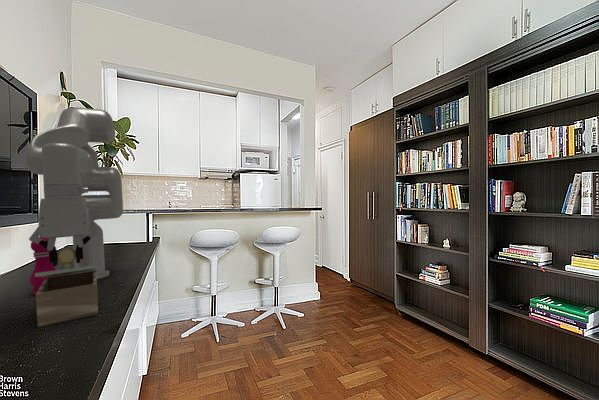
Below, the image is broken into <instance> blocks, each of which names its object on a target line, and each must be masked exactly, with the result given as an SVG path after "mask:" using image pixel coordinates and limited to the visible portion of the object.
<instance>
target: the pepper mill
mask: <svg viewBox="0 0 599 400" xmlns="http://www.w3.org/2000/svg"><path fill="white" fill-rule="evenodd" d="M39 238H41V239H43V240H46V241H47V242H48V241H49V238H42V237H40V235H39ZM30 248H31V250H32V251H33V253H32V254H33V255H32V256H33V258H34V260H35V265H34V269H33V271H32V273H31V276H30V278H29V279H30V280H29V282H30V285H31V286H32V287H34V288H33V289H32V295H33V296H35V297H36V293H37V291H38V290H39V288H40V286H41V285H42V283H43V282H44V280H45V278H47V277H35V273H41V272H48V271H55V270H57V269H56V266H53V263H50V260H49V251H48V250H47V249H46V248H44V247H43V246H41V245H40V244H37V243H35V242H32V241H30ZM56 276H60V275H56ZM50 277H54V276H50Z"/></svg>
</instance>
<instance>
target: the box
mask: <svg viewBox="0 0 599 400" xmlns="http://www.w3.org/2000/svg"><path fill="white" fill-rule="evenodd" d="M97 282H98V279H97V276H96V270H95V271H89V272H82V273H70V274H63V275H59V276H54V277H47V278H45V280H44V282H43V283H42V285H41V286H40V288H39V290H38V291H37V293H36V296H35V301H36V302H35V304H36V319H37V321H36V322H37V328H40V327H44V326H45V327H46V326H51V325H54V324H59V323H65V322H70V321H74V320H78V319H83V318H87V317H92V316H97V315H99V300H98V299H99V297H98V283H97Z"/></svg>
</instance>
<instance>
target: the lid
mask: <svg viewBox="0 0 599 400" xmlns="http://www.w3.org/2000/svg"><path fill="white" fill-rule="evenodd" d="M75 258H76V251H75V250H74V249H73V247H70V246H69V247H63V248H61V249H59V250H57V259H58V262H59V263H62V264H63V269H56V270H55V271H48V272H41V273H35V277H50V276H56V275H59V276H61V275H68V274H75V273H77V272H84V271H91V270H96V265H92V266H84V267H77V268H74V267H72V266H71V262H74V259H75ZM71 267H72V268H71Z"/></svg>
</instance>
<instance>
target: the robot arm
mask: <svg viewBox="0 0 599 400" xmlns="http://www.w3.org/2000/svg"><path fill="white" fill-rule="evenodd" d="M115 138H116V128H115V124H114V120H113V117H112V115H111V114H110V113H109V112H108V111H106V110H104V109H99V108H87V107H75V106H74V107H68V108H65V109H63V110H62V112H61V113H60V115H59V118H58V122H57V126H56V127H54V128H51V129H48V130H46V131H43V132H40V133H38V134H36V135H35V136H34V137H32V138H31V140H30V142H29V144H28V146H27V148H26V149H27V150H26V152H25V158H24V159H25V161H24V162H25V166H26V167H27V169H28V170H29V172H31V173H32V174H35V175H39V176H40V175H41V176H42V178H43V179H42V180H43V195H44V196H43V197H44V198H40V202H39V210H38V226H37V228H36V229H35V230H34V231H33V232H32V234H31V236H29V237H28V240H29V241H30V242H35V243H37V244H40V245H41V246H43V247H44V248H46V249H47V250H48V251H49V260H50V263H53V266H54V267H57V266H58V265H59V261H58V259H57V253H58V249H57V247H56V240H57V239H58V238H59V239H60V238H68V237H72V245H73V246H72V249H74V250H75V251H76V258H75V259H74V260H73V264H74V266H73V268H77V267H84V266H92V265H96V276H97V280H101V279H104V278H106V277H108V276H110V274H111V272H110V271H109V270H106V265H105V261H106V260H105V247H104V245H105V244H104V231H103V229H102V227H101V225H99V224H98V223H97V222H95V221H97V220H111V219H113V220H114V219H119V218H120V217H121V216H122V215H123V212H124V211H123V210H124V202H123V185H122V184H123V183H122V177H121V173H120V171H119V169H118V168H115V167H111V166H99V156H98V153H97V152H96V151H95V149H94V148H93V147H92V146H91V145H90V144H88V143H96V144H97V143H98V144H99V143H101V144H102V143H103V144H110V143H112V142H114V141H115ZM89 192H91V193H92V192H107V193H109V194H89ZM86 193H87V194H86ZM39 235H40V236H39ZM39 237H42V238H49V241H48V242H47V241H46V240H43V239H41V238H39ZM91 271H95V270H91ZM84 272H89V271H84ZM77 273H82V272H77Z"/></svg>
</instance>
